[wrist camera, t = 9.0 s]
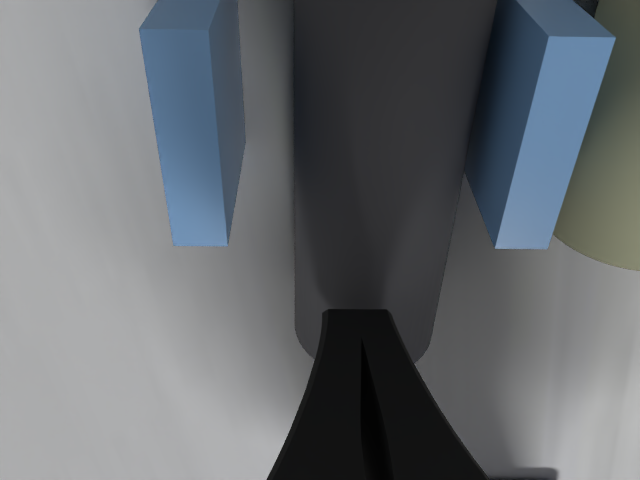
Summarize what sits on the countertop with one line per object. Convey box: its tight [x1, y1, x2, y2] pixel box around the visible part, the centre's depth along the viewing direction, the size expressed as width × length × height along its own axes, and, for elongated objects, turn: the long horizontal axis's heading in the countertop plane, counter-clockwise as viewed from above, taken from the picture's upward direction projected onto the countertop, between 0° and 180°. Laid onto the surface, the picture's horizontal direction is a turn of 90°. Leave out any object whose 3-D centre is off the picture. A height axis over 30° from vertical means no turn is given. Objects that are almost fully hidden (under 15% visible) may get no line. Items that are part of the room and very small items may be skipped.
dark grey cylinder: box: [294, 0, 497, 363], centre depth 13 cm, size 10×4×4 cm, turn 179°
